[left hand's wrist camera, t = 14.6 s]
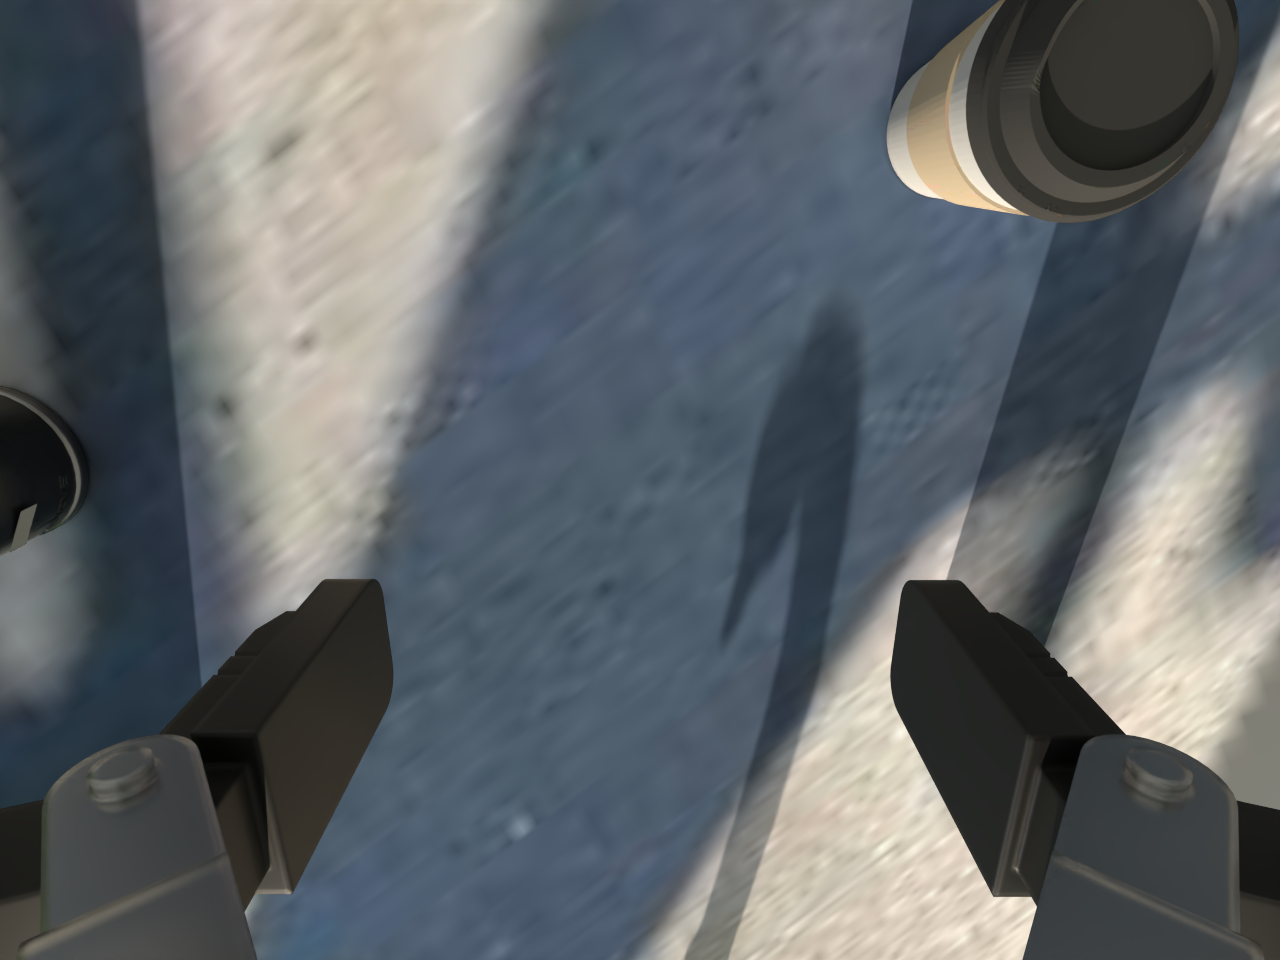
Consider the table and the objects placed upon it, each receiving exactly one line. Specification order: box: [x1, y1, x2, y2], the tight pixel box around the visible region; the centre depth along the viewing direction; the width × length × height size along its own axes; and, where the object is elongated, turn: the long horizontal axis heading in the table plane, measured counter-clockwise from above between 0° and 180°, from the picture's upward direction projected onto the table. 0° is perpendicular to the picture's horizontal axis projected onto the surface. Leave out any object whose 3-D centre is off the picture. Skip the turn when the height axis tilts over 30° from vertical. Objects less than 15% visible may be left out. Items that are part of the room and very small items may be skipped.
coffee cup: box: [887, 0, 1239, 223], centre depth 31 cm, size 9×9×15 cm
